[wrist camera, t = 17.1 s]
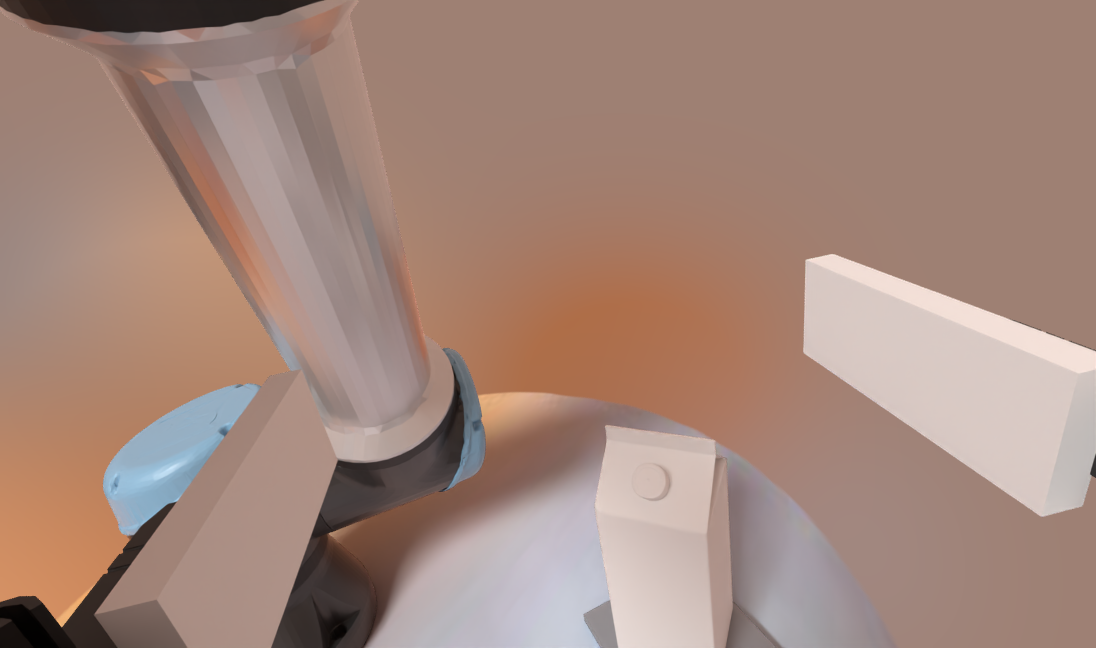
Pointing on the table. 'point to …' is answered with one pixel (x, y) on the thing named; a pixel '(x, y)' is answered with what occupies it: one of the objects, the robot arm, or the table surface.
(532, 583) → the table surface
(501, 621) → the table surface
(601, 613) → the slate pad
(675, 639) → the milk carton
